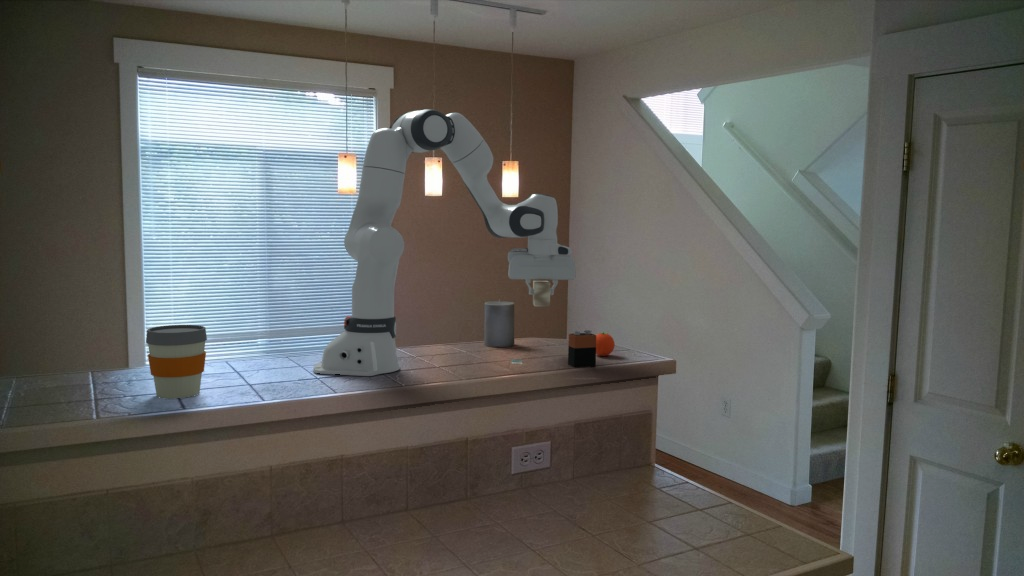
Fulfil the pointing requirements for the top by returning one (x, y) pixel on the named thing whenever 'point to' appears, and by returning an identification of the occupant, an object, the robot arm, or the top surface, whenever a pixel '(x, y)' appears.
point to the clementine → (604, 344)
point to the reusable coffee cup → (176, 359)
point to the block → (541, 293)
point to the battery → (582, 349)
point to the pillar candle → (499, 324)
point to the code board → (516, 361)
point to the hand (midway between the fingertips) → (541, 294)
